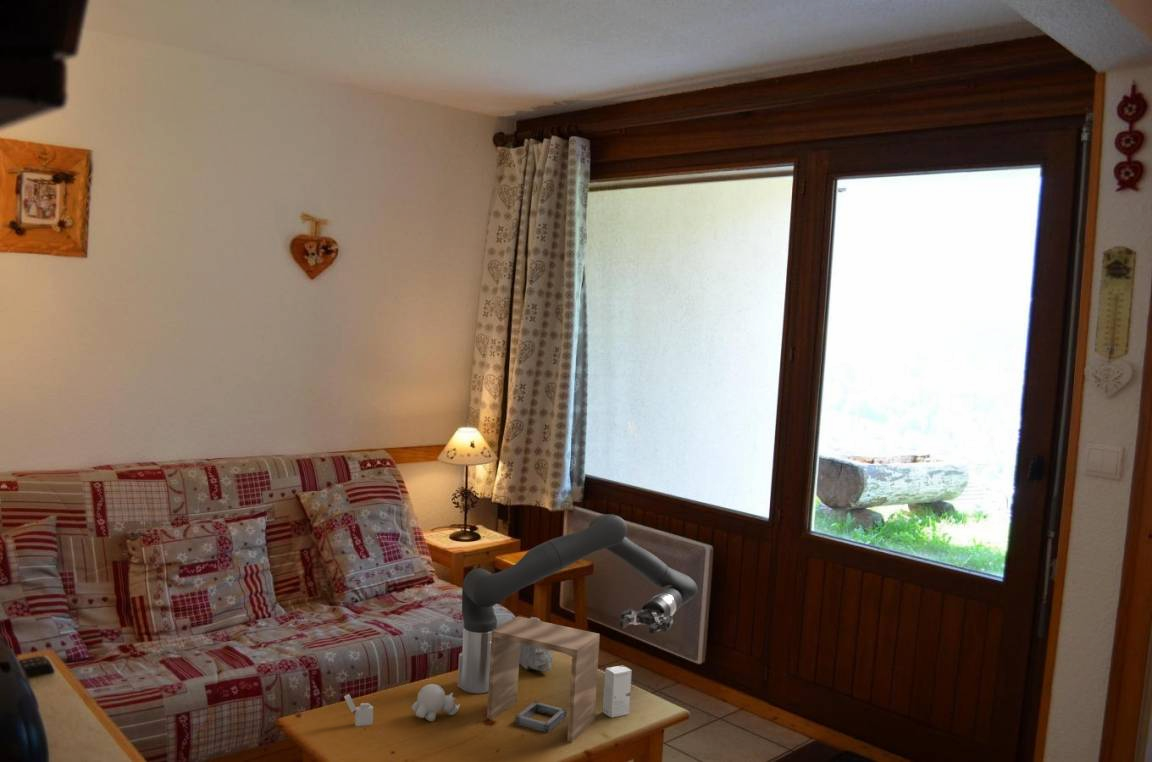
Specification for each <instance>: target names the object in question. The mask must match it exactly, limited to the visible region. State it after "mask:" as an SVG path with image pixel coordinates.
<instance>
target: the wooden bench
mask: <svg viewBox="0 0 1152 762" xmlns="http://www.w3.org/2000/svg"><path fill="white" fill-rule="evenodd" d="M529 618H530V617H523V616H518V615H517V616H516V617H513V618H512V619H510V620H509V621H506V622H505V623H503V624H501V625H499V626H498V627H497V628H496V629H494V630H492V634H491V653H490V671H489V690H488V692H487V694H488V695H487V712H486V714H487V715H486V720H487V719H489V720H488V721H492V720H493V718H494V717H495V718H496V717H498V716H499V715H500V714H502V713H503V712H505V711H506V710H507V709H508V707H509V708H510V707H512V706H513V705H514V704H515V703H517V701H518V689H519V673H520V672H519V671H520V664H519V656H520V643H522V644H526V645H531V646H535V647H539V648H544V649H548V650H553V652H557V653H563V654H566V655H570V656H572V657H571V672H570V689H569V706H568V721H567V722H568V725H567V742H568V743H571V744H572V743H573V742H574V741H575V740H576V739H577V738H579V736H580V735H582V734H583V733H584V732H585V731H586V730H587V729H588V728H589V727H590V726H592V724H593V723H594V722H595V718H596V717H595V716H596V700H597V699H596V698H597V686H598V683H597V682H598V671H599V670H598V667H599V654H600V652H599V651H600V639H601V638H600V633H597V632H592V631H588V630H584V629H580V628H575V627H569V626H564V625H561V624H555V623H550V622H546V621H542V620H540V621H538V620H533V619H529ZM512 704H513V705H512ZM505 709H506V710H505ZM501 712H502V713H501ZM497 715H498V716H497ZM495 718H494V719H495ZM491 719H492V720H491Z"/></svg>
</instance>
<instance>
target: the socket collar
mask: <svg viewBox="0 0 1152 762" xmlns="http://www.w3.org/2000/svg"><path fill="white" fill-rule="evenodd" d="M537 711H538V713H541V712H542V714H545V713H546V715H548V714H549V715H548V716H552V715H553V716H552V717H550V718H549V719H548V720H547V721H542V720H539V719H535V718H533V717H531V716H533V715H534V714H535V713H537ZM565 717H566V718H567V709H566V708H562V707H559V706H558V707H557V706H553V705H551V704H547V703H542V702H539V701H533V702H532V703H531V704H530V705H528V706H527V707H526V708H525V709H523V710H521V712H519V713H517V715H515V718H514V719H515V720H514V723H515V725H517V724H518V726H520V725H521V726H520V727H525V728H529V729H531V728H532V730H535V731H539V730H540V731H539V732H542V731H543V733H546V732H547V734H548V733H549V732H551V729H552V728H553V729H554V728H555V727H557V726H558V723H559V722H560V721H561V722H562V721H563V720H564V719H566V718H565ZM561 722H560V723H561ZM560 723H559V724H560ZM553 729H552V730H553Z"/></svg>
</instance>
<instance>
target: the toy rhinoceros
mask: <svg viewBox="0 0 1152 762" xmlns="http://www.w3.org/2000/svg"><path fill="white" fill-rule="evenodd" d="M453 694H454V692H451V693H449V694H447V695H446V694H445V690H444V689H443V688H442V687H441V686H440V685H438V684H436V683H430V684H426V685H425V686H423V687H422V688H420V690H419V692H418V694H417V700H416V701H415V702H414V703H413V704H412V705H411V710H412V712H414V713H415V716H416V717H418V718H421V719H424V718H425V719H426V720H427V721H429V722H434V721H435V720H436V716H437V713H438V712H440V711H442V712H444V713H446V714H447V715H449V716H454V715H455V714H456V713H457V712H458V710H459V708H460V707H461V703H458V704H456V699H457V697H454V696H453Z"/></svg>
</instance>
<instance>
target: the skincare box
mask: <svg viewBox="0 0 1152 762" xmlns="http://www.w3.org/2000/svg"><path fill="white" fill-rule="evenodd" d="M604 672H605V673H604V687H603V688H604V690H603V703H602V712H603V713H604V714H605V715H606V716H608V717H609V718H617V717H622V716H625V715H629V714H630V701H631V687H632V686H631V685H632V672H633V670H632V669H630V668H629V667H627V666H625V665H623V664H622V665H617V666H615V665H614V666H612V667H611V666H610V667H606V668H605V671H604Z"/></svg>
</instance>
